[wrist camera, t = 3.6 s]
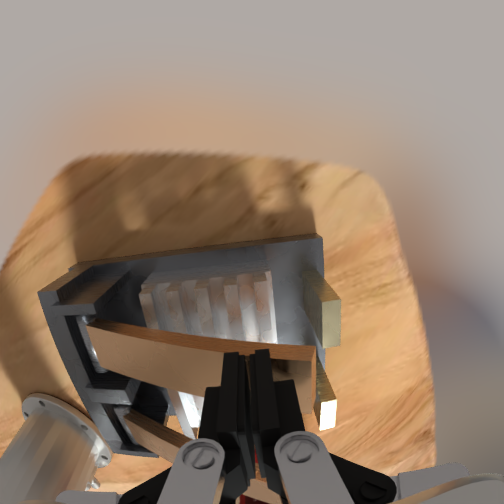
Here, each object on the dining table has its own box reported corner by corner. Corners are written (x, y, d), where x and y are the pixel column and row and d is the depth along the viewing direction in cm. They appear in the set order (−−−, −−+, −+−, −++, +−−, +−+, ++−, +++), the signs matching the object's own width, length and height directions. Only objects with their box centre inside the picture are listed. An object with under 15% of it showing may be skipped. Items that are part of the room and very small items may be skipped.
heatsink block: (319, 390, 23) (340, 447, 17) (126, 403, 23) (104, 456, 16) (316, 233, 20) (353, 260, 13) (77, 262, 20) (25, 295, 13)
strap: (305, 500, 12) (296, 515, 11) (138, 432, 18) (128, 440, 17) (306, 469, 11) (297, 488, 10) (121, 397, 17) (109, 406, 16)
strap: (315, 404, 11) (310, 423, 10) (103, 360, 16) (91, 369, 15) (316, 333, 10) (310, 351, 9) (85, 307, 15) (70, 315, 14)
